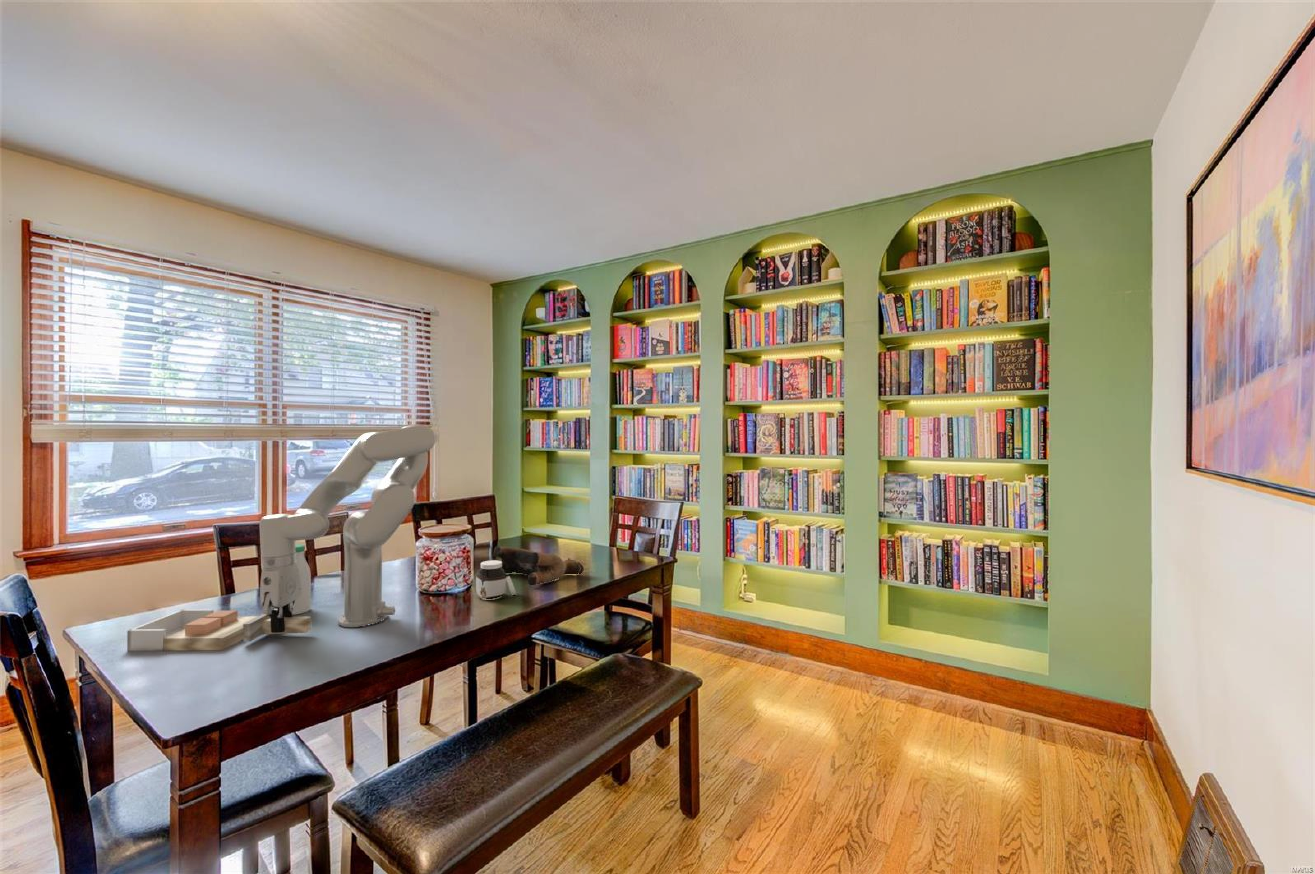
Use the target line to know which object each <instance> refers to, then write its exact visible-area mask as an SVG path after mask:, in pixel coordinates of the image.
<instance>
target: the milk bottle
mask: <svg viewBox="0 0 1315 874" xmlns="http://www.w3.org/2000/svg"><path fill="white" fill-rule="evenodd" d="M295 551H296V562H297V565H298V569H299V573H300V581H301V596H300V597H299V598H298V599H296V601H295V603H294V605H293V611H292V616H294V615H296V616H297V615H301V614H305V613H307V612H309V611H310V610H311V608H312V607H311V606H312V601H311V600H312V583H311V582H312V579H311V578H312V575H311V568H310V566H309V563H308V562H307V560H306V557H305V553H306V546H305V544H295Z"/></svg>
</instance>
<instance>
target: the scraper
mask: <svg viewBox="0 0 1315 874" xmlns="http://www.w3.org/2000/svg"><path fill="white" fill-rule="evenodd" d="M274 610H276V611H277V609H274ZM257 616H258V617H256V618H254V619H252V620H250V621H248V622H246V623H244V624H243V633H244V639H243V642H252V641H253V640H255V639H256V638H258V637H260V636H261V635H276V634H278V635H279V634H280V635H283V634H307V633H308V632H310V630H312V616H311V615H310V616H292V617H284V623H285V631H284V632H280V633H272V632H271V619H270V618H269V616H268V615H267V614H260V615H257Z"/></svg>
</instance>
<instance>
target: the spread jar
mask: <svg viewBox="0 0 1315 874" xmlns="http://www.w3.org/2000/svg"><path fill="white" fill-rule="evenodd" d="M510 576H511V575H508V576H506V574H505V571H504V570H503V568H502V560H496V559H495V560H494V559H491V560H485V561H482V562H480V569H479V570H478V571H477V573H476V576H475V577H476V578H475V582H476V583H475V588H476V589H475V590H476V594H477V597H478V596H480V597H482V598H486V599H493V598H497V597H500V596H503V595H504V596H505V595H506V592H507V587H508V590H509V592H511V593H510V595H511V594H512V595H514V594H516V595H517V592H516V589H515V587H514V583H513V581H512V577H510ZM512 595H511V596H512ZM504 596H503V597H504Z"/></svg>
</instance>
